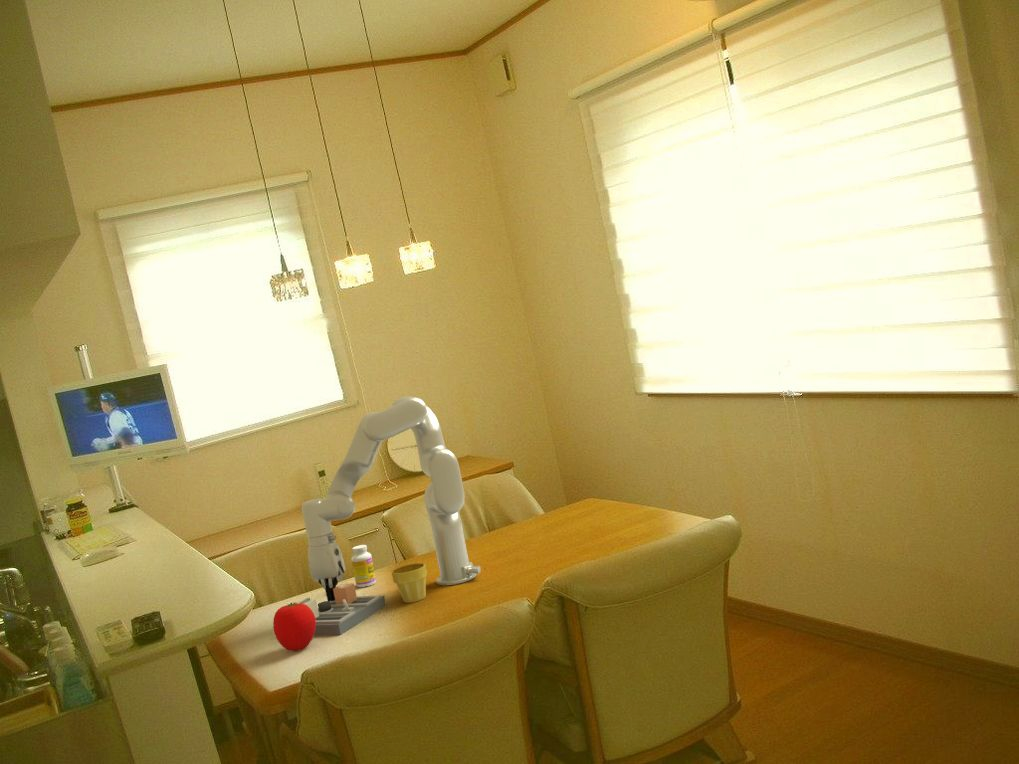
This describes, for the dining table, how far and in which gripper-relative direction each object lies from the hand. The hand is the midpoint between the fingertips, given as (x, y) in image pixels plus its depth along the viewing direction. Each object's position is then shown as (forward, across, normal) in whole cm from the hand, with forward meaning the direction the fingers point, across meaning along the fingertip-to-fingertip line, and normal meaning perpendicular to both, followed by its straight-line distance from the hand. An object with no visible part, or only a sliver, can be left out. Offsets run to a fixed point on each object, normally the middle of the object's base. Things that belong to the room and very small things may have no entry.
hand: (332, 599), depth 305 cm
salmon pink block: (+1, -5, 0) cm, 5 cm away
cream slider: (+1, -1, +14) cm, 14 cm away
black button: (+1, -2, +7) cm, 7 cm away
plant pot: (+4, -22, -10) cm, 25 cm away
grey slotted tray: (+4, -6, +7) cm, 10 cm away
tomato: (+4, -8, +29) cm, 30 cm away
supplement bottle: (+4, +7, -28) cm, 29 cm away
